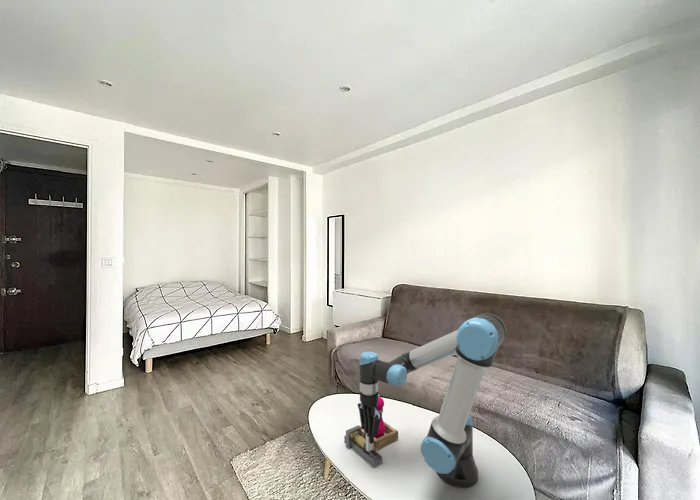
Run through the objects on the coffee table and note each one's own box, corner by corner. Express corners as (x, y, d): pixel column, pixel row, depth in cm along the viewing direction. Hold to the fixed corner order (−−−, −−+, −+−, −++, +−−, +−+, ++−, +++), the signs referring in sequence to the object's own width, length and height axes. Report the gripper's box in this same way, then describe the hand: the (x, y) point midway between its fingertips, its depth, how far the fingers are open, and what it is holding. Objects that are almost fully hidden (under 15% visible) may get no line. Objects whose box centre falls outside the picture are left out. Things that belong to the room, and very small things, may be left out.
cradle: (398, 440, 136) (398, 431, 136) (376, 451, 129) (376, 441, 129) (378, 426, 147) (378, 418, 147) (357, 436, 139) (357, 427, 139)
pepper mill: (372, 444, 133) (372, 398, 133) (367, 435, 140) (367, 391, 140) (388, 441, 135) (388, 396, 135) (382, 432, 142) (381, 389, 142)
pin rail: (384, 462, 122) (384, 444, 122) (371, 469, 118) (371, 451, 118) (354, 437, 138) (354, 422, 138) (342, 443, 134) (341, 427, 134)
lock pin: (369, 449, 126) (369, 442, 126) (364, 452, 125) (364, 445, 125) (354, 437, 135) (354, 430, 135) (349, 439, 133) (349, 432, 133)
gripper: (386, 394, 121) (387, 454, 121) (366, 383, 132) (366, 438, 132) (372, 400, 117) (372, 462, 117) (352, 388, 128) (352, 445, 127)
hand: (369, 449), depth 124 cm, fingers closed
